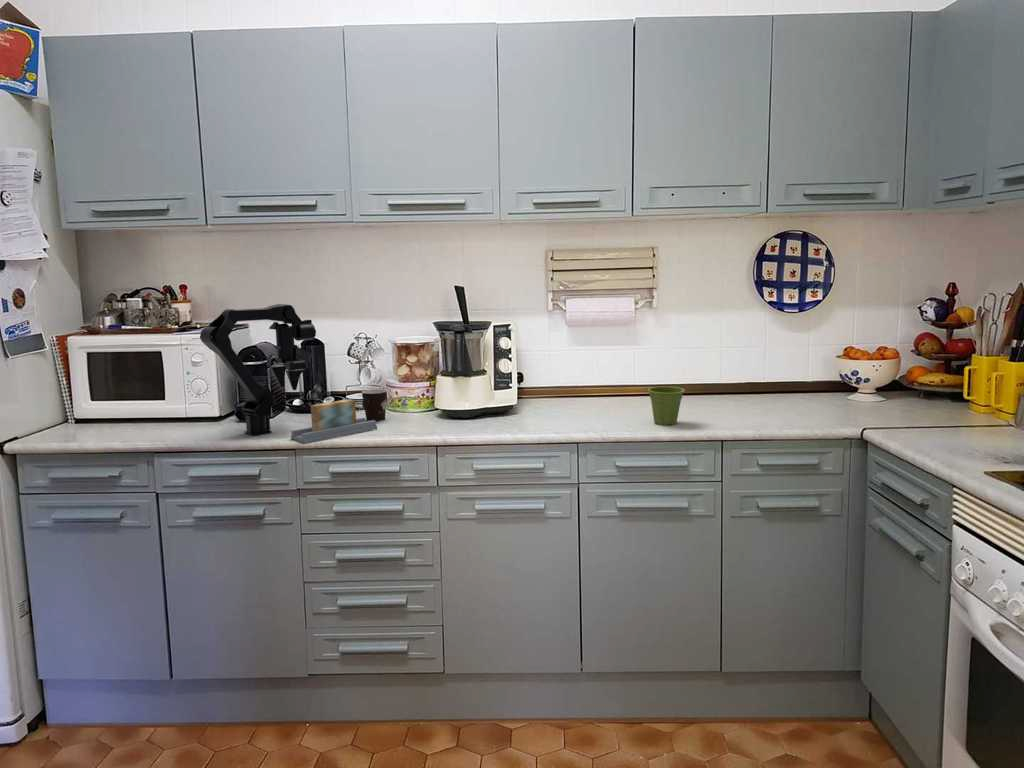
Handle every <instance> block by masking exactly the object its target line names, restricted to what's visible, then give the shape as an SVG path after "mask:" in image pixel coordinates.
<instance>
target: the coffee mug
mask: <svg viewBox="0 0 1024 768" xmlns="http://www.w3.org/2000/svg"><path fill="white" fill-rule="evenodd" d="M387 394H388V391H387V390H386V389H381V388H380V389H379V388H378V389H376V388H375V389H367V390H366V389H365V390H362V391H361V396H362V402H361V404H362V408H363V410H364V414H365V421H372V420H375V421H377V422H382V421H381V420H383V421H385V420H386V412H387V410H386V409H387V398H388V397H387V396H388V395H387Z"/></svg>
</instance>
